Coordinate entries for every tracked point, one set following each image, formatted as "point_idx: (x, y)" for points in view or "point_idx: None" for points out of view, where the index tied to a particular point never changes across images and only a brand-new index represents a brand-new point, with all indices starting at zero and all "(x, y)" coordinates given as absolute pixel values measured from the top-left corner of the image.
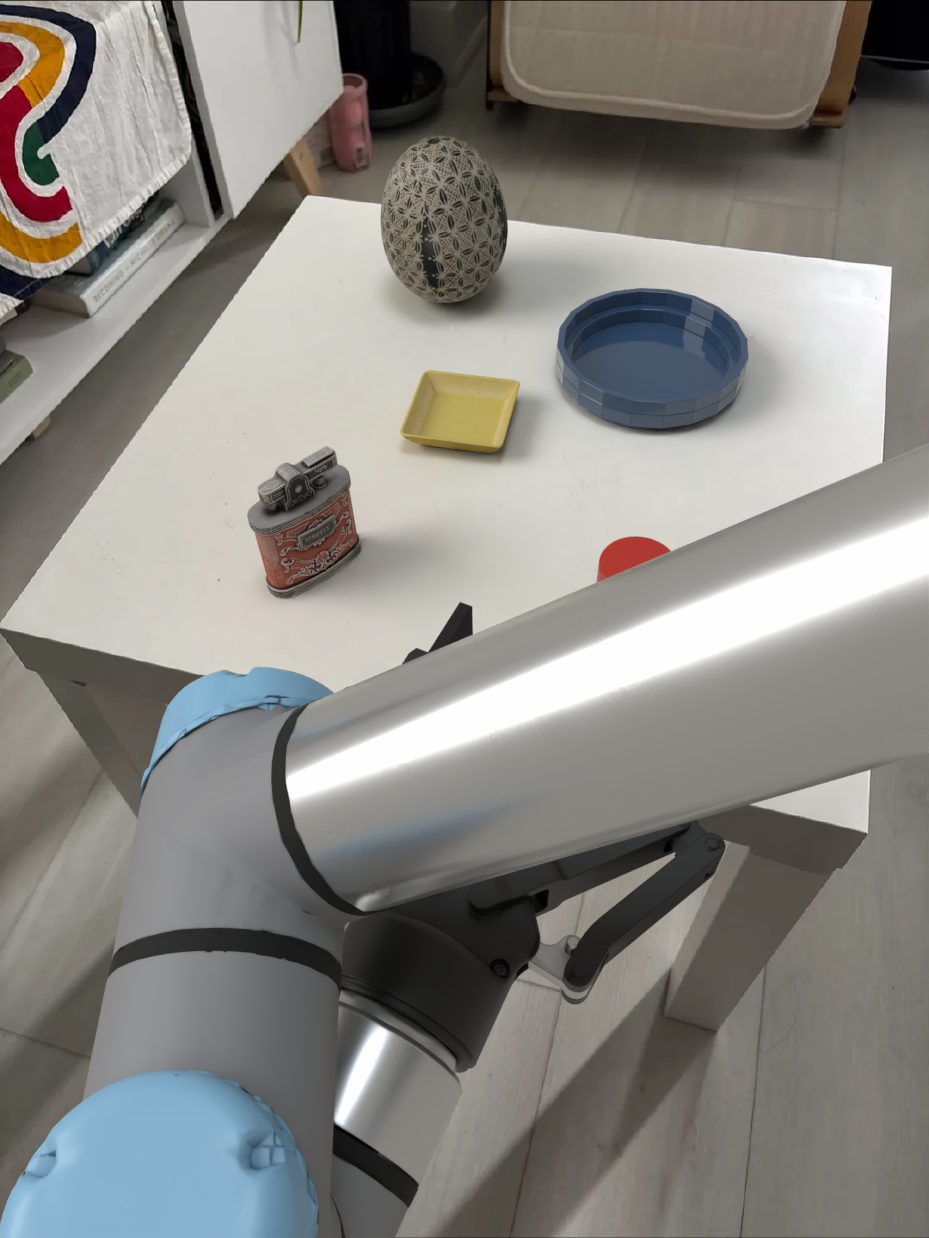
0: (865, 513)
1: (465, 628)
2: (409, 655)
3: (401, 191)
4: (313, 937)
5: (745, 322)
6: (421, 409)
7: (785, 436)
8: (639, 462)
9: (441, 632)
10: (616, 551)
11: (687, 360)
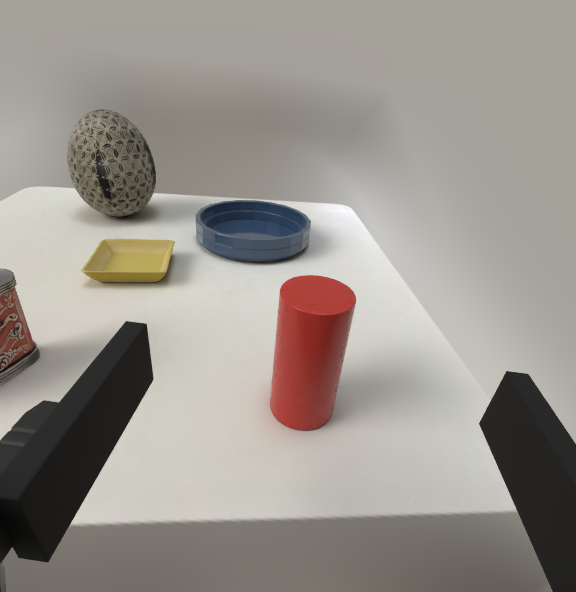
0: None
1: (138, 360)
2: (26, 416)
3: (79, 135)
4: None
5: None
6: (101, 260)
7: (342, 259)
8: (264, 278)
9: (92, 364)
10: (293, 286)
11: (274, 231)
